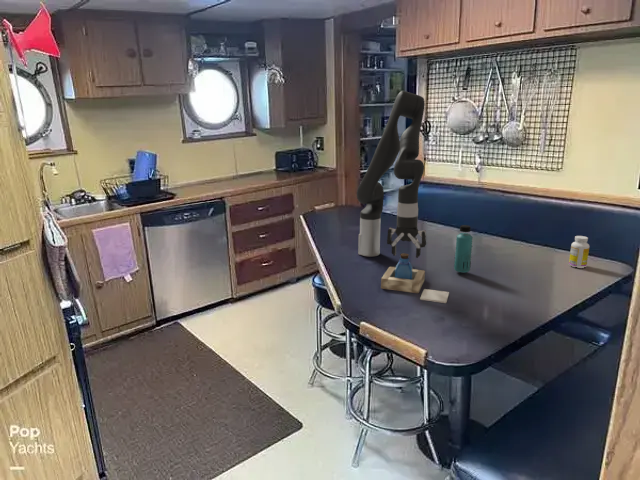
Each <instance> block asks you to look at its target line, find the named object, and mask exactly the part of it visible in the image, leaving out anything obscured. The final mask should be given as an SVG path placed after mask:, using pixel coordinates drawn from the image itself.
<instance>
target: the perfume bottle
mask: <svg viewBox="0 0 640 480" xmlns="http://www.w3.org/2000/svg"><path fill="white" fill-rule="evenodd" d="M409 256H410V255H409V254H408V253H405V252H404V253H403V252H402V253H400V257H399V260H398V262H397V264H396V265H395V267H396V270H395V278H402V279H410V280H412V269H413V265H412V263H411V262H410V257H409Z"/></svg>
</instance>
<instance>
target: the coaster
mask: <svg viewBox="0 0 640 480" xmlns="http://www.w3.org/2000/svg"><path fill="white" fill-rule="evenodd" d="M449 295H450V292H449V291H443V290H435V289H428V288H427V289H426V288H424V289H423V291H422V293H421V296H420V297H419V300H421V301H425V302H426V301H428V302H435V303H442V304H447V302H448V298H449Z"/></svg>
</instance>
